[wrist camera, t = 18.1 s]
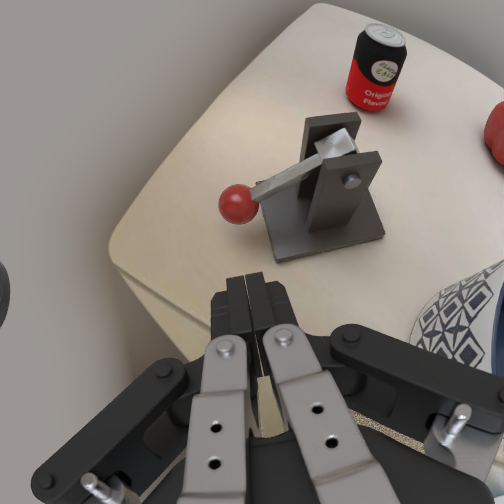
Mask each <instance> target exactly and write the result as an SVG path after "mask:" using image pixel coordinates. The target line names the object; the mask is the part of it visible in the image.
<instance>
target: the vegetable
mask: <svg viewBox="0 0 504 504" xmlns="http://www.w3.org/2000/svg"><path fill="white" fill-rule="evenodd" d="M484 139H485V142H486V144H487V145H488V146H489V148H491V149H492V154H493V156H494V158H495V159H496V160H497V161H498V162H499V163H501V164H502V165H504V102H501V103H499V104H498V105H496V107H495V108H494V109H493V111H492V112H491V114H490V116H489V118H488V120H487V123H486V125H485V129H484Z"/></svg>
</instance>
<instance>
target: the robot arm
mask: <svg viewBox="0 0 504 504" xmlns="http://www.w3.org/2000/svg"><path fill="white" fill-rule="evenodd" d="M245 278H246V284H247V290H248V294H247V290H246V285H245V280H244V276H243V275H242V276H237V277H232V278H227V279H226V284H227V291H222V292H217V293H215V295H214V297H213V298H212V300H211V342H210V343H209V344H208V345H207V346H206V349H205V354H204V355H203V356H202V357H200V358H199V359H197V360H195V361H192V362H190V363H187V364H185V365H183V363H182V362H181V361H179V360H178V359H174V358H165V359H161V360H158V361H156V362H155V363H153V364H152V365H151V366H150V367H148V368H147V369H146V370H145V371H144V372H143V373H142V374H141V375H140V376H139V377H138V378H137V379H136V380H134V381H133V382H132V383H131V384H130V385H129V386H128V387H127V388H126V389H125V390H124V391H123V392H121V393H120V394H119V395H118V396H117V397H116V398H115V399H114V400H113V401H112V402H111V403H110V404H108V405H107V406H106V407H105V408H104V409H103V410H102V411H101V412H100V413H99V414H98V415H97V416H95V417H94V418H93V419H92V420H91V421H90V422H89V423H88V424H87V425H86V426H84V427H83V428H82V429H81V430H80V431H79V432H78V433H77V434H76V435H74V436H73V437H72V438H71V439H70V440H69V441H68V442H67V443H66V444H65V445H63V446H62V447H61V448H60V449H59V450H58V451H57V452H56V453H55V454H53V455H52V456H51V457H50V458H49V459H48V460H47V461H46V462H45V463H44V464H42V465H41V466H40V467H39V468H38V469H37V470H36V471H35V472H34V474H33V476H32V479H31V489H32V492H33V494H34V496H35V497H36V498H37V499H39V500H40V501H42V502H43V503H45V504H140V499H139V497H140V496H141V495H142V493H144V492H145V490H146V489H147V488H148V487H149V486H150V485H151V484H152V483H153V482H154V481H155V480H156V479H157V478H158V477H159V476H160V475H161V474H162V472H163V471H164V470H165V469H166V468H167V467H168V466H169V465H170V464H171V462H173V460H174V459H175V458H176V457H177V456H178V455H179V454H180V453H181V452H182V451H183V449H184V448H185V447H186V446H187V450H186V457H185V458H184V459H182V460H181V461H180V462H179V463H177V464H176V465H175V466H174V467H173V468H172V469H171V471H170V472H169V473H168V474H167V475H166V477H165V478H164V479H163V480H162V481H161V482H160V483H159V485H158V486H157V487H156V488H155V489H154V490H153V491H152V492H151V494H150V495H149V496H148V497H147V498H146V499H145V500H144V501H143V503H142V504H495V502H494V498H493V495H492V493H491V491H490V490H489V488H488V487H487V486H486V485H485V484H484V483H485V480H486V478H487V476H488V474H489V471H490V469H491V466H492V464H493V462H494V459H495V456H496V454H497V451H498V449H499V446H500V443H501V440H502V437H503V435H504V378H503V377H500V376H497V375H494V374H491V373H488V372H485V371H483V370H480V369H477V368H474V367H471V366H468V365H466V364H463V363H460V362H457V361H455V360H452V359H449V358H446V357H444V356H441V355H438V354H435V353H433V352H430V351H427V350H425V349H422V348H419V347H417V346H414V345H411V344H409V343H406V342H403V341H401V340H398V339H395V338H393V337H390V336H388V335H385V334H382V333H380V332H377V331H375V330H372V329H369V328H367V327H364V326H362V325H358V324H346V325H342V326H340V327H338V328H336V329H335V330H334V331H333V332H332V333H331V336H313V335H309V334H307V333H305V332H304V331H303V330H302V329H301V328H300V327H299V326H298V323H297V320H296V317H295V315H294V312H293V309H292V306H291V303H290V301H289V298H288V296H287V292H286V289H285V287H284V286H283V285H282V284H281V283H279V282H278V281H274V282H269V283H265V280H264V277H263V273H262V272H258V273H252V274H247V275H245ZM248 296H249V299H248ZM249 301H250V304H249ZM250 307H251V309H250ZM251 313H252V314H251ZM253 324H254V325H253ZM254 330H255V331H254ZM255 335H256V336H255ZM256 339H257V342H256ZM257 344H258V348H257ZM258 349H259V353H260V358H261V363H262V367H263V372H264V376H268V375H270V380H271V384H272V389H273V394H274V397H275V400H276V403H277V407H278V410H279V413H280V416H281V419H282V423H283V426H284V429H285V432H284V433H282V434H279V435H277V436H274V437H271V438H262V437H261V424H260V408H259V394H258V381H257V378H258V377H263V376H262V370H261V365H260V359H259V353H258ZM349 408H350V409H352V410H354V411H356V412H358V413H360V414H362V415H364V416H366V417H368V418H370V419H372V420H374V421H376V422H378V423H380V424H382V425H384V426H386V427H389V428H391V429H393V430H395V431H397V432H399V433H402V434H404V435H406V436H408V437H410V438H413V439H415V440H417V441H419V442H422V443H424V445H423V446H424V451H425V453H426V455H425V454H422V453H420V452H418V451H416V450H414V449H412V448H410V447H408V446H406V445H404V444H402V443H400V442H398V441H396V440H394V439H392V438H390V437H388V436H387V435H385V434H383V433H381V432H379V431H377V430H375V429H372V428H369V427H366V426H362V425H357V424H356V422H355V420H354V418H353V416H352V414H351V412H350V410H349ZM160 416H161V417H160ZM159 417H160V418H159ZM158 418H159V419H158ZM157 419H158V420H157ZM156 420H157V421H156ZM155 421H156V422H155ZM154 422H155V423H154ZM153 423H154V424H153ZM152 424H153V425H152ZM151 425H152V426H151ZM150 426H151V427H150ZM149 427H150V428H149ZM148 428H149V429H148ZM147 429H148V430H147Z"/></svg>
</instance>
